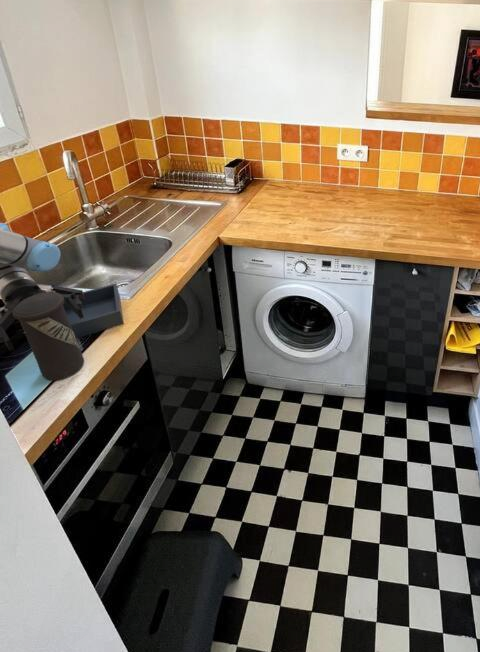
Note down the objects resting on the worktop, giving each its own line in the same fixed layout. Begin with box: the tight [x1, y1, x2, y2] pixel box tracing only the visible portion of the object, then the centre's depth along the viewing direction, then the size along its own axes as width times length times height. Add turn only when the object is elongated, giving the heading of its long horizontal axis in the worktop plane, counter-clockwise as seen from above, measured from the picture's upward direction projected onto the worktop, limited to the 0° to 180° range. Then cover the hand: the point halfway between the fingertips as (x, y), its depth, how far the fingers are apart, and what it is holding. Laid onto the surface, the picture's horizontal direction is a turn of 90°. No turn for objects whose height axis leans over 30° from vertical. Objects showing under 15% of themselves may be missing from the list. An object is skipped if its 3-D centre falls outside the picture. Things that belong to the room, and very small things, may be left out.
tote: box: [63, 283, 125, 340], centre depth 108 cm, size 15×15×4 cm
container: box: [12, 292, 85, 382], centre depth 89 cm, size 9×9×20 cm
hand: (47, 328), depth 90 cm, fingers open, 13 cm apart
